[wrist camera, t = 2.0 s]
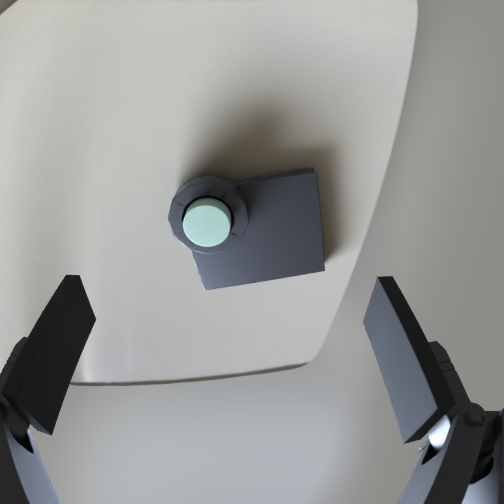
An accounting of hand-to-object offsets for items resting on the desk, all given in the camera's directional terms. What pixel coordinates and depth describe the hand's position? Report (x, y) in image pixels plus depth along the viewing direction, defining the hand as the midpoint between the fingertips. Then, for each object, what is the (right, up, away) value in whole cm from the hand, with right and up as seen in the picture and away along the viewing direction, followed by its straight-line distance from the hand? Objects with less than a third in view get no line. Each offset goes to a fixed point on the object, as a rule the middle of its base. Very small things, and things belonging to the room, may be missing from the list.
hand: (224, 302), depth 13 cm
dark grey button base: (+1, +4, +18) cm, 18 cm away
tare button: (-3, +5, +14) cm, 15 cm away
